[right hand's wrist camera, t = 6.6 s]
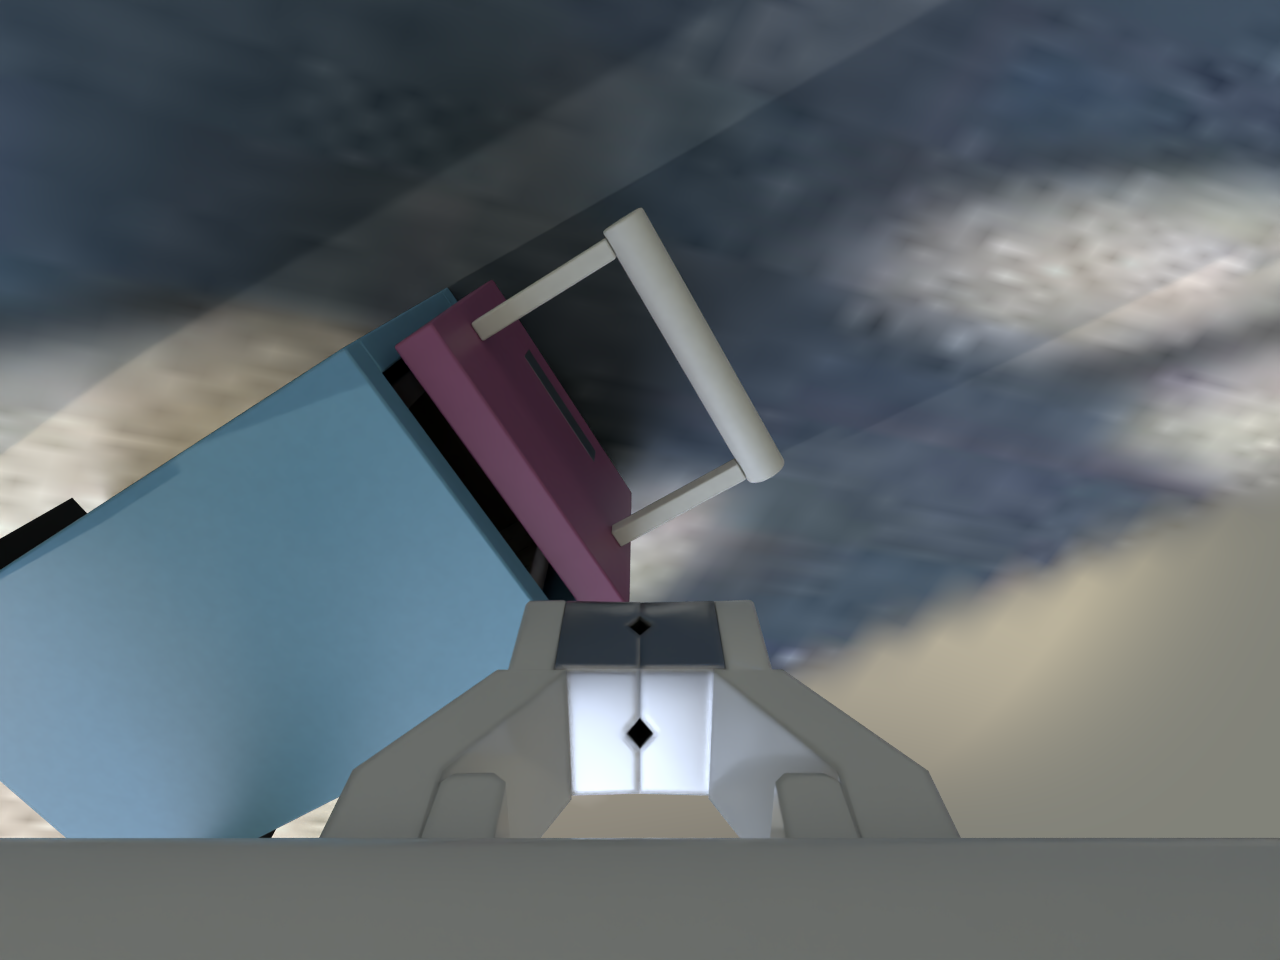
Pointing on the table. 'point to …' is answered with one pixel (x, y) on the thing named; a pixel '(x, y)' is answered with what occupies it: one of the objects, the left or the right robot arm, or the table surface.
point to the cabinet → (255, 614)
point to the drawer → (567, 418)
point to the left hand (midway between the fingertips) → (175, 652)
